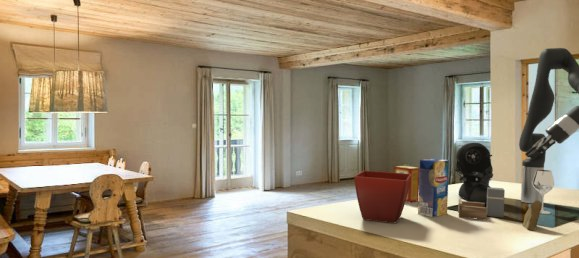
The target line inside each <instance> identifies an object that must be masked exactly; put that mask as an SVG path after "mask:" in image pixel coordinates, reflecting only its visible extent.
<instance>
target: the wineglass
mask: <svg viewBox="0 0 579 258" xmlns="http://www.w3.org/2000/svg"><path fill="white" fill-rule="evenodd" d="M532 184H533V187H534V188H535V189H536V190H537V191H538V192H539V193H540V194H541V196H542V200H541V203H542V207H541V210H540V215H541V214H543V215H550V214H551V211H547V210H544V201H545V199H544V197H545V195H546V194H548V193H549V192H551V191H552V190H553V189H554V188H555V179H554V175H553V171H552V170H548V169H544V170H536V172H535V175H534V178H533V181H532Z"/></svg>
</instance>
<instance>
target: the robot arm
mask: <svg viewBox="0 0 579 258" xmlns="http://www.w3.org/2000/svg"><path fill="white" fill-rule="evenodd" d="M552 70H563V71H565V72H566V73H567V81H568V84H569V86H570V87H571V88H572V90H574V92H575V93H577V94H578V95H579V63H578V62H577V60H576V59H575V57H574V56H573V54H572V53H571V52H570V51H569V50H568V49H567V48H564V47H553V48H544V49H542V50H541V52H540V55H539V57H538V62H537V69H536V78H535V83H534V87H533V91H532V94H531V98H530V101H529V106H528V112H527V114H526V115H527V116H526V120H525V123H524V126H523V128H522V131H521V135H520V136H519V142H518V145H519V146H518V147H519V150H520V151H521V152H522V153H523V152H524V155H525V156H526V159H523V160H522V162H521V163H522V165H521V183H520V184H521V189H520V190H521V191H520V192H521V193H520V202H523V203H525V204H532V203H534V201H540V202H541V200H542V196H541V194H540V193H539V192H538V191H537V190H536V189H535V188H534V187H533V184H532V181H533V178H534V175H535V172H536V170H545V163H546V153H547V150H548V149H550V148H551V147H552V146H553V145H555V144H556V143H557V144H562V143H564V142H565V141H566V140H568V139H569V138H570V137H571V136H572V135H574V134H575V133H576V132H577V131H578V130H579V105H575V106H574V107H572V108H571V109H570V110H569V111H568V112H566V113H565V114H563V115H562V116H560V117H559V118H558V119H557V120H556V121H554V122H553V123H552V124H551V125H550V126H548V127H547V128H546V129H545V132H546V134H547V136H546V135H545V134H544V133H537V132H536V133H534V132H535V130H536V128H537V126H538V125H540V123H541V122H543V121H544V120H545V119H546V118H547V117H549V115H550V113H551V112H552V110H553V107H554V102H555V93H554V90H553V89H552V87H551V85H550V73H551V71H552Z"/></svg>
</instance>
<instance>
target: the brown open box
mask: <svg viewBox="0 0 579 258" xmlns="http://www.w3.org/2000/svg"><path fill="white" fill-rule="evenodd" d="M457 203H458V204H457V205H458V208H457V212H458V213H459V214H458V213H457V214H458V218H462V217H466V218H465V219H473V218H477V219H476V220H483V219H486V220H487V217H488V216H487V208H486V207H485V205H486V204H485V203H480V202H468V201H466V200H462V198H458V202H457Z"/></svg>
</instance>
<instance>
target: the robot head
mask: <svg viewBox="0 0 579 258" xmlns="http://www.w3.org/2000/svg"><path fill="white" fill-rule="evenodd" d="M490 153H491V151H490V150H489V149H488V148H487V147H486V146H485V145H484V144H482V143H480V142H469V143H465V144H463V145H462V146H460V148H459V149H458V150H457V151H456V153H455V159H456V163H455V165H456V166H455V169H454V170H455V172H456V174H457V175H458V182H460V183H462V184H461V185H460V187H459V189H458V197H459V198H460V197H461V198H460V199H464V201H467V202H479V203H485V205H487V187H491V186H490V182H491V179H493V177H494V173H493V170H494V169H493V166H492V159H491V158H492V157H493V154H490Z"/></svg>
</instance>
